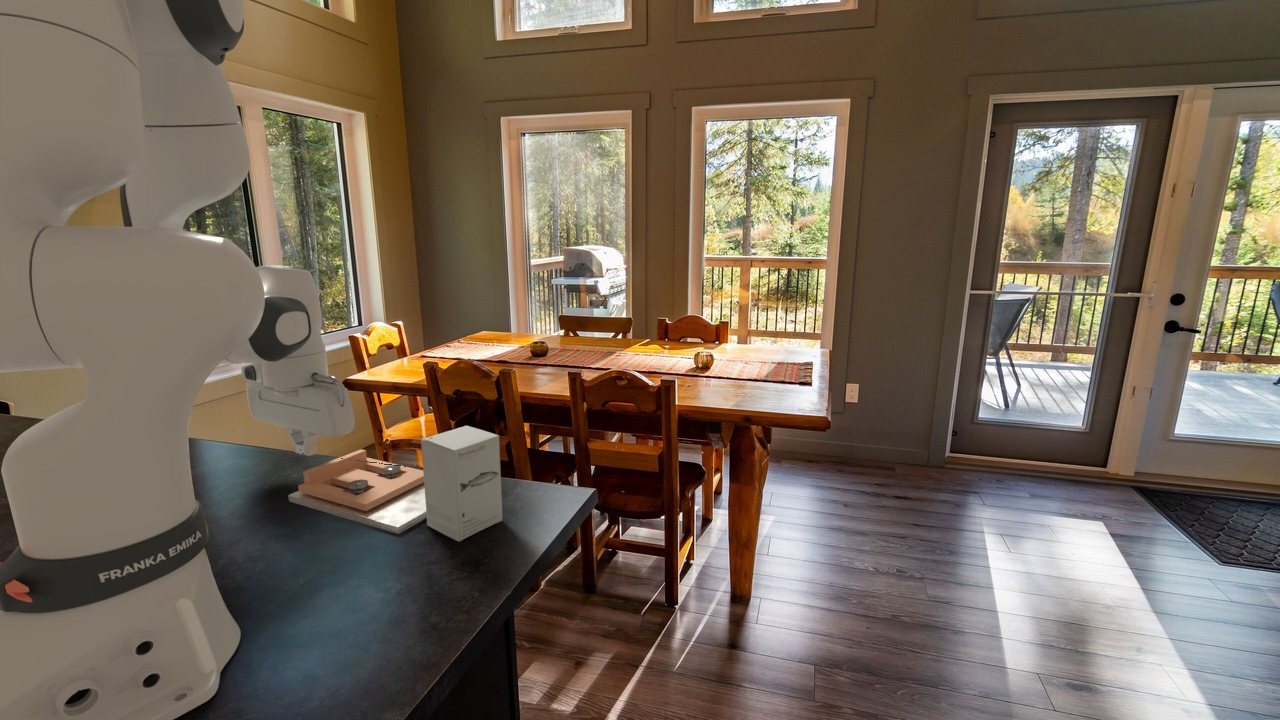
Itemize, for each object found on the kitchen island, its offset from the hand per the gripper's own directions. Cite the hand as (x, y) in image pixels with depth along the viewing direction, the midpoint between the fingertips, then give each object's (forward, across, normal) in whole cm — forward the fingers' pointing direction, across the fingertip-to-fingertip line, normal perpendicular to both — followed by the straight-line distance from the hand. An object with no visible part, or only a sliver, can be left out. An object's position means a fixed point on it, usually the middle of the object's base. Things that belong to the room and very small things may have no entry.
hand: (306, 453), depth 91 cm
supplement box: (+4, -34, +1) cm, 34 cm away
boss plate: (+4, -17, 0) cm, 17 cm away
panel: (+3, -14, 0) cm, 14 cm away
